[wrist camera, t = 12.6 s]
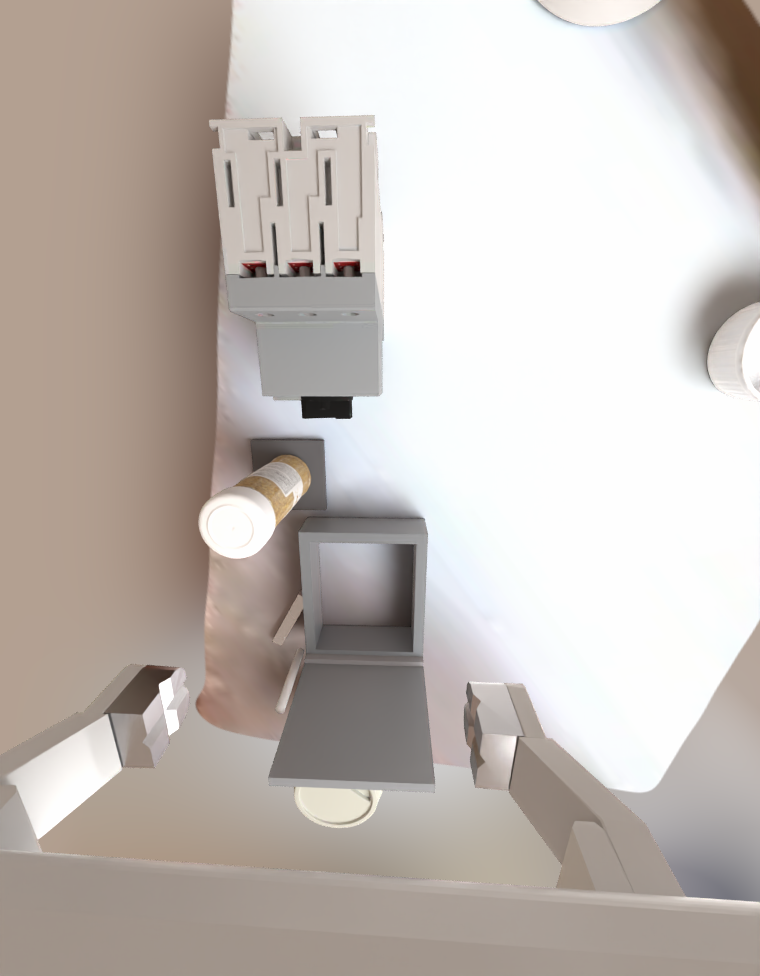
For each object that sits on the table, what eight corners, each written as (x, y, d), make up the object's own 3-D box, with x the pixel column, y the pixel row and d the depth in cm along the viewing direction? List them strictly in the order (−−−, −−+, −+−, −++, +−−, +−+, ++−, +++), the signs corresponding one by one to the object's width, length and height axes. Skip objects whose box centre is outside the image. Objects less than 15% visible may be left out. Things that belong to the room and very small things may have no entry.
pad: (252, 439, 36) (250, 440, 35) (324, 440, 36) (322, 441, 35) (259, 507, 38) (257, 509, 37) (326, 508, 38) (325, 510, 37)
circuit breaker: (304, 409, 35) (242, 430, 21) (294, 237, 31) (208, 112, 17) (383, 410, 35) (375, 430, 20) (383, 235, 31) (374, 107, 16)
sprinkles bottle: (291, 506, 37) (236, 574, 24) (257, 475, 36) (181, 527, 23) (322, 476, 36) (281, 529, 23) (287, 443, 35) (225, 479, 22)
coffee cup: (393, 711, 45) (393, 826, 33) (326, 722, 45) (303, 837, 34) (377, 654, 42) (370, 756, 31) (306, 666, 43) (275, 770, 32)
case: (298, 516, 38) (233, 609, 23) (424, 518, 37) (445, 614, 22) (306, 637, 42) (255, 785, 27) (419, 640, 42) (434, 792, 26)
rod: (300, 588, 41) (298, 594, 40) (310, 593, 41) (308, 599, 40) (275, 634, 43) (272, 641, 41) (284, 639, 43) (281, 646, 42)
